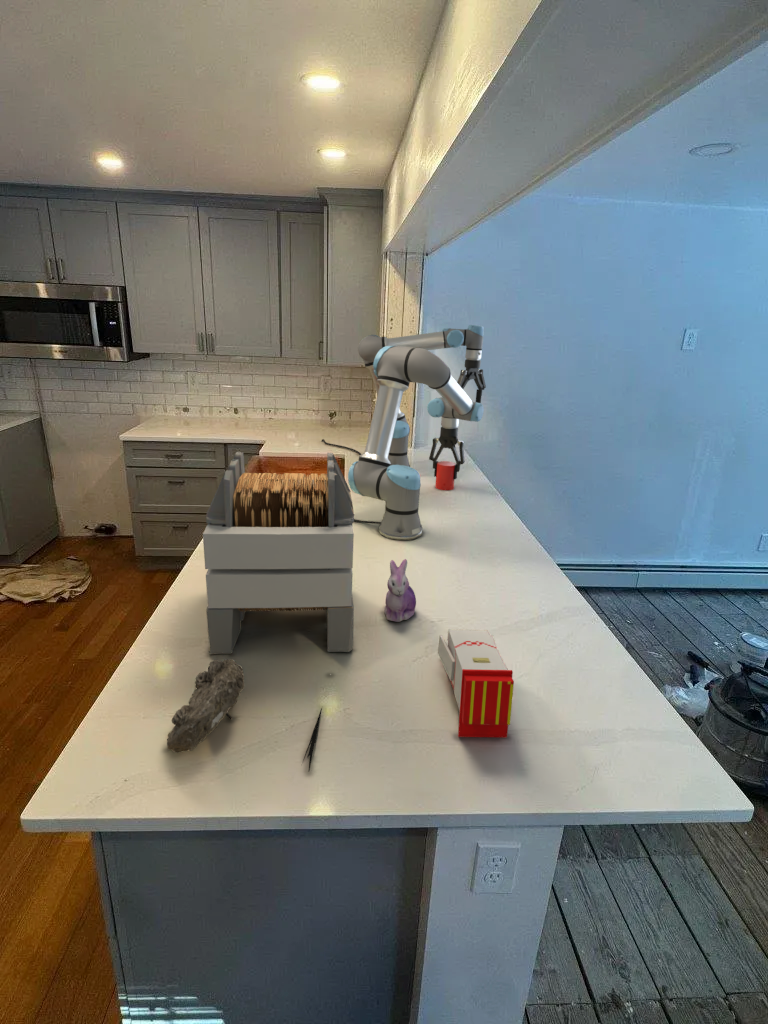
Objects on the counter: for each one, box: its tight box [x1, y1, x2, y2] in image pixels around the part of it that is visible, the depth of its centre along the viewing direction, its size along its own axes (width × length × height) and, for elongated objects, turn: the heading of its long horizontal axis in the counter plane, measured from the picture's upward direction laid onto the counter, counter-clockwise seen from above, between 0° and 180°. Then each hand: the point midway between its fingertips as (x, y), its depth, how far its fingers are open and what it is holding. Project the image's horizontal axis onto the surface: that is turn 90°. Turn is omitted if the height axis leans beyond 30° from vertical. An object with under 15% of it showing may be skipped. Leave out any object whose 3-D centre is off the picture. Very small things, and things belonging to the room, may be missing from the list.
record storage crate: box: [202, 451, 355, 655], centre depth 137 cm, size 34×33×41 cm
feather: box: [301, 673, 332, 771], centre depth 108 cm, size 2×28×2 cm
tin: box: [434, 460, 456, 492], centre depth 252 cm, size 8×8×11 cm
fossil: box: [166, 658, 245, 754], centre depth 106 cm, size 22×10×15 cm
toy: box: [437, 628, 515, 738], centre depth 117 cm, size 12×13×30 cm
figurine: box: [384, 558, 417, 623], centre depth 145 cm, size 9×10×15 cm
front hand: (445, 477), depth 253 cm, fingers closed on tin, 8 cm apart
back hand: (468, 404), depth 278 cm, fingers open, 13 cm apart
